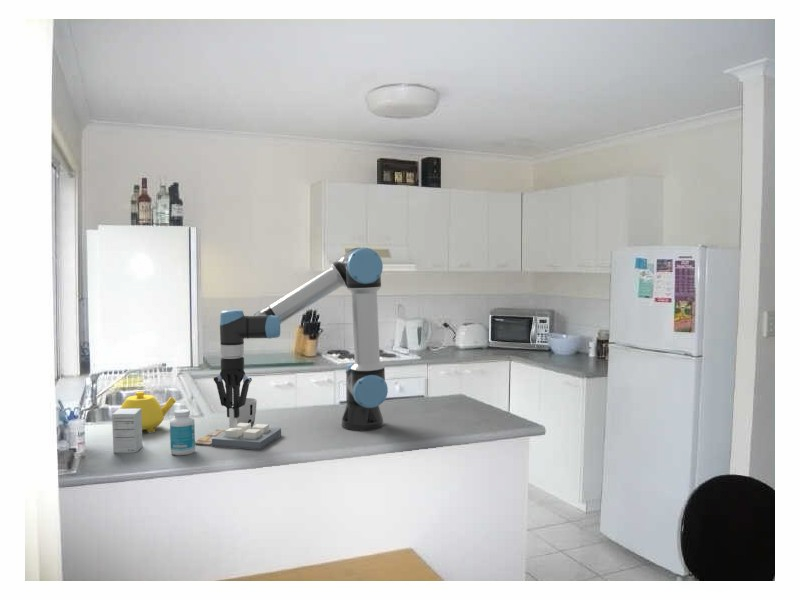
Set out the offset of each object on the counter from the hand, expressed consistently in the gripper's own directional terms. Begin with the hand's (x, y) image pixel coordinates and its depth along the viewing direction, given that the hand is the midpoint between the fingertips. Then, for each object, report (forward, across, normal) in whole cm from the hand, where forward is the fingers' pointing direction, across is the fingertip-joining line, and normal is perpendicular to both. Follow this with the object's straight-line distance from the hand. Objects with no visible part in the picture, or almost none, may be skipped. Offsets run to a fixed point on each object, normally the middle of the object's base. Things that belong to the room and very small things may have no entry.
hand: (233, 427), depth 230 cm
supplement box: (+6, +30, +15) cm, 34 cm away
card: (+5, +9, -3) cm, 11 cm away
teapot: (+6, +38, -8) cm, 39 cm away
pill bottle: (+6, +11, +14) cm, 18 cm away
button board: (+5, -3, -3) cm, 7 cm away
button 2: (+3, 0, -7) cm, 8 cm away
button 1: (+4, 0, 0) cm, 4 cm away
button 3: (+3, -7, 0) cm, 8 cm away
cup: (+6, +5, -18) cm, 20 cm away
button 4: (+3, -7, -7) cm, 10 cm away
